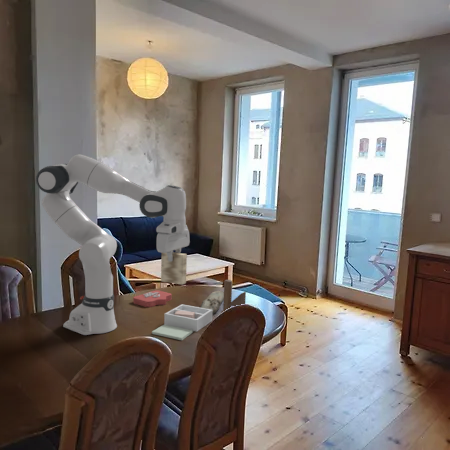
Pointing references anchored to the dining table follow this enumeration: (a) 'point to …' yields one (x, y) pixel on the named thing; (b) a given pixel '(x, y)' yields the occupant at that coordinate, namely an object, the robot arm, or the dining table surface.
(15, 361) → the dining table surface
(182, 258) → the birch board
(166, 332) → the sage pad
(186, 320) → the white open box
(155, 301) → the plaque
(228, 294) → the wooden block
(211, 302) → the elongated rock
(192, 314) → the upper offcut
